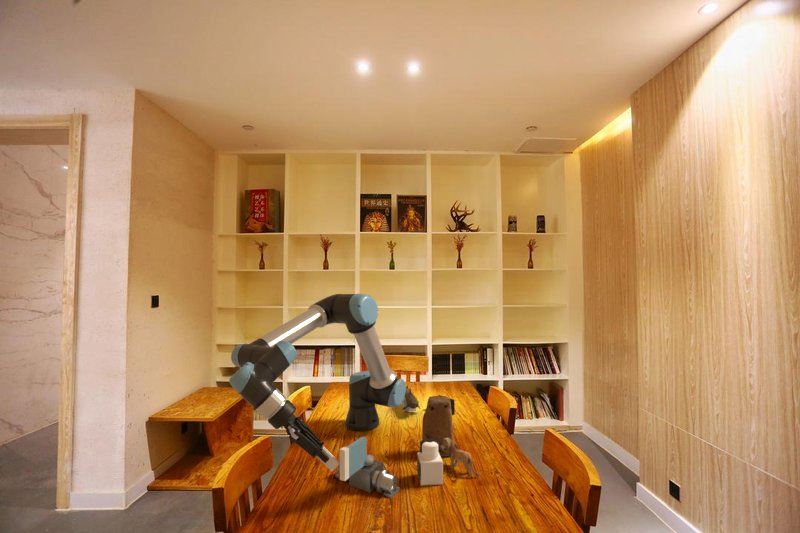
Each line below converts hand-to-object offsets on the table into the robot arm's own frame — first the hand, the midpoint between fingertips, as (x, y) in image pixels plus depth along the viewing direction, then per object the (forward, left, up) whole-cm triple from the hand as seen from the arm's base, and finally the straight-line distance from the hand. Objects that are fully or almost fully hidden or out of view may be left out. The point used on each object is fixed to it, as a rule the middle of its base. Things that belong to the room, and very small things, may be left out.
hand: (335, 466), depth 105 cm
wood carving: (-76, +39, -10) cm, 86 cm away
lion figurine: (-10, +41, -10) cm, 43 cm away
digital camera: (-66, +55, -10) cm, 86 cm away
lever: (-4, +7, -4) cm, 9 cm away
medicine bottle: (-6, +30, -10) cm, 32 cm away
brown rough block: (-23, +38, -10) cm, 46 cm away
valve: (-8, +10, -10) cm, 16 cm away
